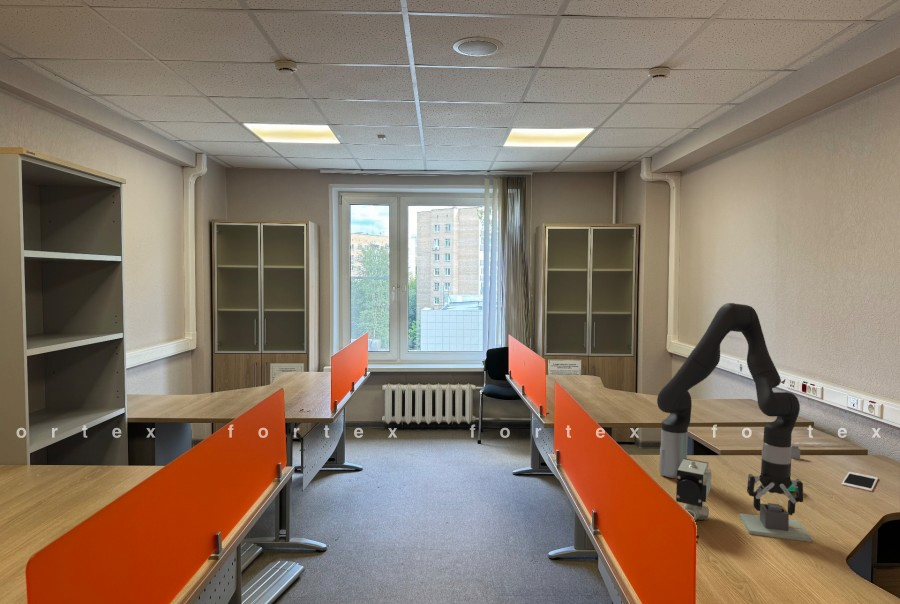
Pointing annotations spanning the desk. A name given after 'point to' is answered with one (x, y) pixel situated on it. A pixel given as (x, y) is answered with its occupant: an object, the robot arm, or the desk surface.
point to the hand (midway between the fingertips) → (773, 512)
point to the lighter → (795, 452)
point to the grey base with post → (758, 528)
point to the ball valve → (694, 487)
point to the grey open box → (774, 518)
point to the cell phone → (860, 481)
